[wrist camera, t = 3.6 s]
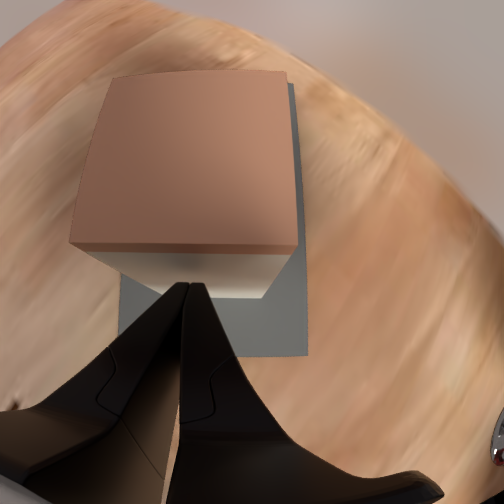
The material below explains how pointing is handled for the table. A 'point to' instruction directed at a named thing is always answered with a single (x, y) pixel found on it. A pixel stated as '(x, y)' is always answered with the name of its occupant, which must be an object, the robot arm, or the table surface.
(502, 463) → the wine glass
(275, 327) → the rubber mat
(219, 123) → the tall block
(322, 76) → the table surface
